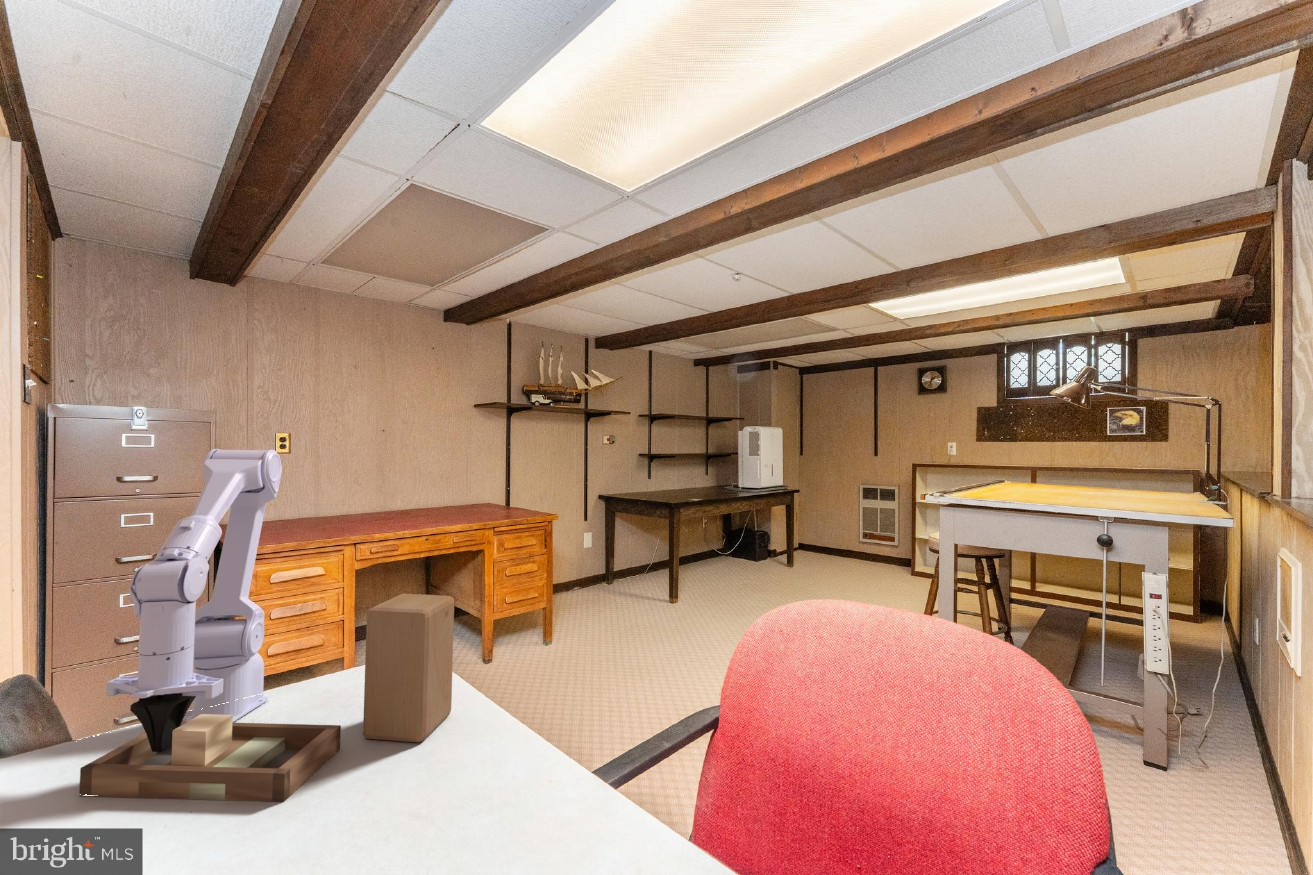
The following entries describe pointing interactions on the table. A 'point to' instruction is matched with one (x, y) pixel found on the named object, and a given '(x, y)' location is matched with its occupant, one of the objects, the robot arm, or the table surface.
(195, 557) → the robot arm
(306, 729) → the box
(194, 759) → the maple block
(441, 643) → the wooden block
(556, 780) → the table surface
